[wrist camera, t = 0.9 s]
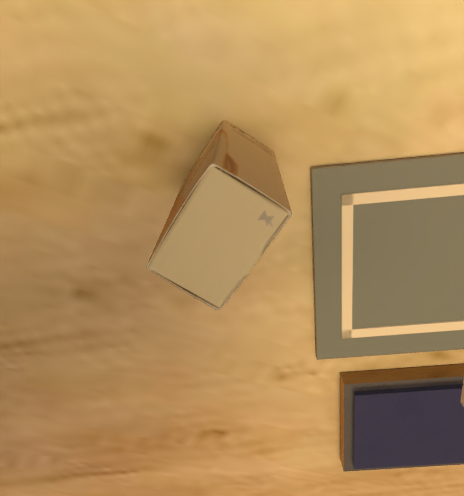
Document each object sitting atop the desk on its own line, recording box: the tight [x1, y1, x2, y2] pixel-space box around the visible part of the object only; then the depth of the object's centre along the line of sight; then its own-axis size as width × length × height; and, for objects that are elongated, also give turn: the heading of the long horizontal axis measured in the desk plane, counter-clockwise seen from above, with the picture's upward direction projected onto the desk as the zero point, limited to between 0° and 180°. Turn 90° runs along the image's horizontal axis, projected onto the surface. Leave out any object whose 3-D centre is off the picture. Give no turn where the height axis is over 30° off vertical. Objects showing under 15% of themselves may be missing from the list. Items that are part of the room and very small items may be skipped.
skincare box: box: [147, 121, 292, 310], centre depth 25 cm, size 6×4×12 cm
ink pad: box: [340, 364, 464, 471], centre depth 38 cm, size 12×10×2 cm
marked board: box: [311, 152, 464, 360], centre depth 33 cm, size 16×16×1 cm
